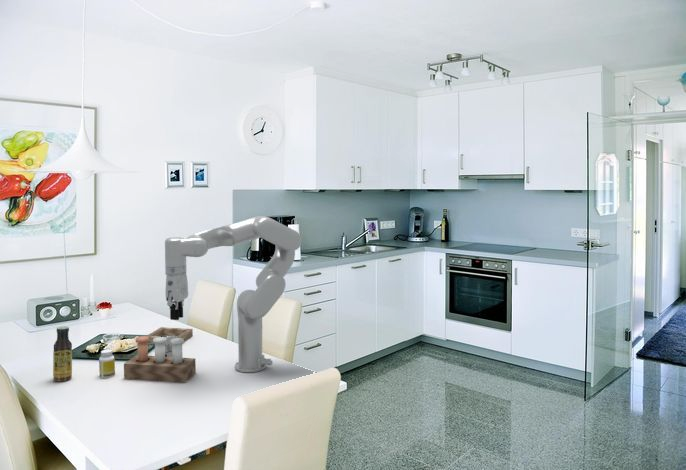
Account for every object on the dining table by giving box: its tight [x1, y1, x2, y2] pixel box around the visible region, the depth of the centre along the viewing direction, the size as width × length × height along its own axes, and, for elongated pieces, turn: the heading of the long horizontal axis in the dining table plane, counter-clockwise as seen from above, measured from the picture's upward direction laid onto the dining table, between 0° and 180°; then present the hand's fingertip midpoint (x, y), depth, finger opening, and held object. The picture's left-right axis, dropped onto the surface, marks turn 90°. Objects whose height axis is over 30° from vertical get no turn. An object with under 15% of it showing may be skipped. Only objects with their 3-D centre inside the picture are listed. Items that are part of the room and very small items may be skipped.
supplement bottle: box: [98, 348, 116, 379], centre depth 200 cm, size 5×5×10 cm
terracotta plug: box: [135, 335, 149, 362], centre depth 201 cm, size 5×5×10 cm
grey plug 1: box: [153, 336, 166, 363], centre depth 200 cm, size 5×5×10 cm
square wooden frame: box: [146, 326, 194, 343], centre depth 245 cm, size 16×16×4 cm
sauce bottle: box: [52, 325, 73, 383], centre depth 195 cm, size 7×6×20 cm
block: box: [123, 354, 197, 384], centre depth 201 cm, size 24×10×6 cm, turn 83°
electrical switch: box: [153, 336, 177, 357], centre depth 221 cm, size 9×5×9 cm, turn 141°
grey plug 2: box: [171, 338, 185, 364], centre depth 199 cm, size 5×5×10 cm
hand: (176, 318), depth 198 cm, fingers open, 2 cm apart
